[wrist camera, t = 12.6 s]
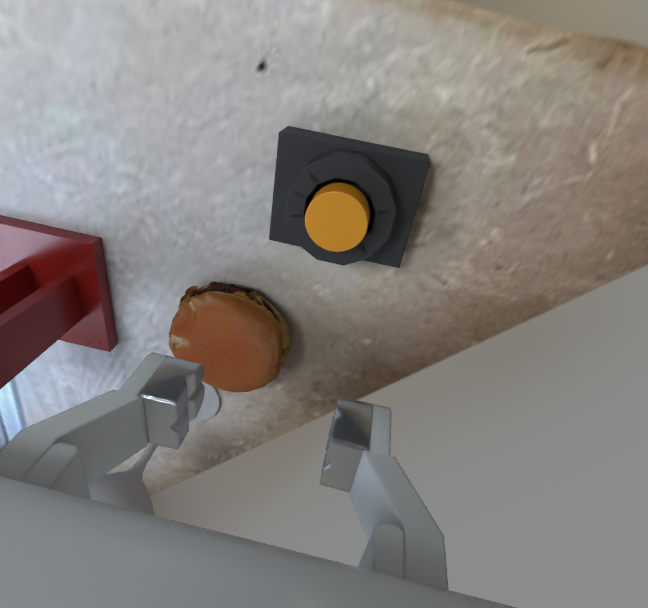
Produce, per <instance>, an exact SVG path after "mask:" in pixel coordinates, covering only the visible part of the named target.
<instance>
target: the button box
mask: <svg viewBox="0 0 648 608" xmlns="http://www.w3.org/2000/svg"><path fill="white" fill-rule="evenodd" d="M429 165H430V162H429V158H428V155H427V154H423V153H418V152H413V151H408V150H403V149H399V148H394V147H389V146H384V145H379V144H374V143H369V142H364V141H359V140H354V139H349V138H344V137H339V136H335V135H330V134H325V133H320V132H315V131H310V130H305V129H300V128H295V127H290V126H287V127H286V128H285V129H283V130H282V131H280V132H279V139H278V150H277V161H276V171H275V182H274V193H273V204H272V215H271V225H270V236H269V239H270V240H273V241H278V242H282V243H287V244H292V245H296V246H301V247H302V248H304V249H305V250H306V251H307V252H308V253H310V254H311V255H312V256H313V257H315V258H316V259H317V260H322V261H326V262H331V263H335V264H340V265H346V264H350V263H353V262H357V261H361V260H365V261H370V262H374V263H379V264H383V265H388V266H393V267H397V268H399V267H400V263H401V260H402V257H403V253H404V250H405V246H406V243H407V240H408V236H409V233H410V229H411V226H412V223H413V219H414V216H415V212H416V209H417V205H418V202H419V199H420V195H421V192H422V188H423V185H424V182H425V178H426V175H427V171H428V168H429ZM332 183H346V184H349V185H352V186H354V187H355V188H357V189H358V190H360V191H361V192H362V193H363V195H364V196H365V198H366V199H367V201H368V204H369V208H370V218H369V223H368V228H367V232H366V234H365V237H364V238H363V240H362V241H361V242H360V243H359V244H358V245H357V246H355V247H354V248H352V249H349V250H347V251H341V252H334V251H329V250H326V249H323V248H322V247H320V246H318V245H317V244H316V243H315V242H314V241H313V240H312V239H311V237H310V236H309V234H308V232H307V230H306V226H305V214H306V210H307V208H308V206H309V204H310V202H311V201H312V199H313V197H314V196H315V194H316V193H317V192H318V191H319V190H320V189H321V188H323V187H324V186H326V185H329V184H332Z"/></svg>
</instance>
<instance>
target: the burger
mask: <svg viewBox="0 0 648 608" xmlns="http://www.w3.org/2000/svg"><path fill="white" fill-rule="evenodd" d="M185 293H186V294H185V295H184V296H183V297H182V298H181V301H180V304H179V310H178V312H177V313H176V315H175V317H174V319H173V321H172V325H171V329H170V333H169V338H170V341H169V346H170V349H171V351H172V353H173V354H174V356H175V357H176V358H178V359H182V360H186V361H190V362H193V363H197V364H201V365H203V366H204V373H205V375H204V377H203V379H202V380H201V381H202V382H204V383H206V384H208V385H210V386H212V387H214V388H218V389H221V390H225V391H230V392H248V391H252V390H255V389H258V388H261V387H263V386H265V385H267V384H268V383H269V382H271V381H272V380H273V379H274V378H276V377H277V375H278V374H279V372H280V367H281V364H282V363H283V361H284V359H285V358H286V356H287V354H288V352H289V348H290V327H289V325H288V323H287V322H286V320H285V319H284V318H283V317H282V315H281V314H280V313H279V312H278V311H277V310H276V309H275V307H274V306H273V305H271V304H270V303H269V302H268V301H267V300H266V299H264V298H263V297H261V296H260V295H259V294H258V293H256V292H255V291H254V290H253V289H249V288H245V287H240V286H234V284H231V285H228V284H223V283H220V282H219V283H217V282H211V283H210V284H208V285H206V286H204V287H202V288H200V289H198V286H192V287H190V288H188V289H187V290H186V292H185Z"/></svg>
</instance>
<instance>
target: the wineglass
mask: <svg viewBox="0 0 648 608" xmlns="http://www.w3.org/2000/svg"><path fill="white" fill-rule="evenodd" d="M201 382H202V381H201ZM202 383H203V385H204V386H205V393H204V399H203V403H202V405H201V408H200V411H199V413H198V415H197V416H196V418H195V419H193V420H191V421H196V422H197V421H204V420H207V419H210V418H211V417H213V416H214V415H215V414H216V412H217V411H218V409H219V405H220V398H219V394H218V392H217V390H216V388H214V387H212V386H210V385H208V384H206V383H204V382H202ZM157 446H158V445H155V444H150V443H149V444H148V446H147V448H146V449H145V451H144V452H143V454H142V455H141V457H140V458H139V460H138V461H137V462H136V463H135V464H134V466H133V467H132V468H130V469H129V470H127V471H125V472H117V473H111V474H105V475H103V476H102V477H100V478H99V479H97V480H96V481H94V482H93V483H92V484H90V485H89V486H88V488H89V491H90V495H91V499H92V500H96V501H100V502H104V503H108V504H112V505H115V506H119V507H123V508H127V509H131V510H135V511H139V512H143V513H147V514H151V515H154V511H153V505H152V501H151V499H150V496H149V494H148V491H147V489H146V487H145V485H144V483H143V481H142V474H143V471H144V469H145V466H146V464H147V462H148V460H149V459H150V457H151V456H152V454H153V452H154V451H155V449H156V447H157Z"/></svg>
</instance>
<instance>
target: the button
mask: <svg viewBox="0 0 648 608" xmlns="http://www.w3.org/2000/svg"><path fill="white" fill-rule="evenodd" d="M369 218H370V208H369V204H368V201H367V199H366V198H365V196H364V195H363V193H362V192H361V191H360V190H358V189H357V188H355V187H354V186H352V185H349V184H346V183H332V184H329V185H326V186H324V187H323V188H321V189H320V190H319V191H318V192H317V193H316V194H315V196H314V197H313V199H312V201H311V202H310V204H309V206H308V208H307V210H306V214H305V226H306V230H307V232H308V234H309V236H310V237H311V239H312V240H313V241H314V242H315V243H316V244H317V245H318V246H320V247H322V248H323V249H326V250H329V251H334V252H341V251H347V250H349V249H352V248H354V247H355V246H357V245H358V244H359V243H360V242H361V241H362V240H363V238H364V237H365V234H366V232H367V228H368V223H369Z"/></svg>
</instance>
